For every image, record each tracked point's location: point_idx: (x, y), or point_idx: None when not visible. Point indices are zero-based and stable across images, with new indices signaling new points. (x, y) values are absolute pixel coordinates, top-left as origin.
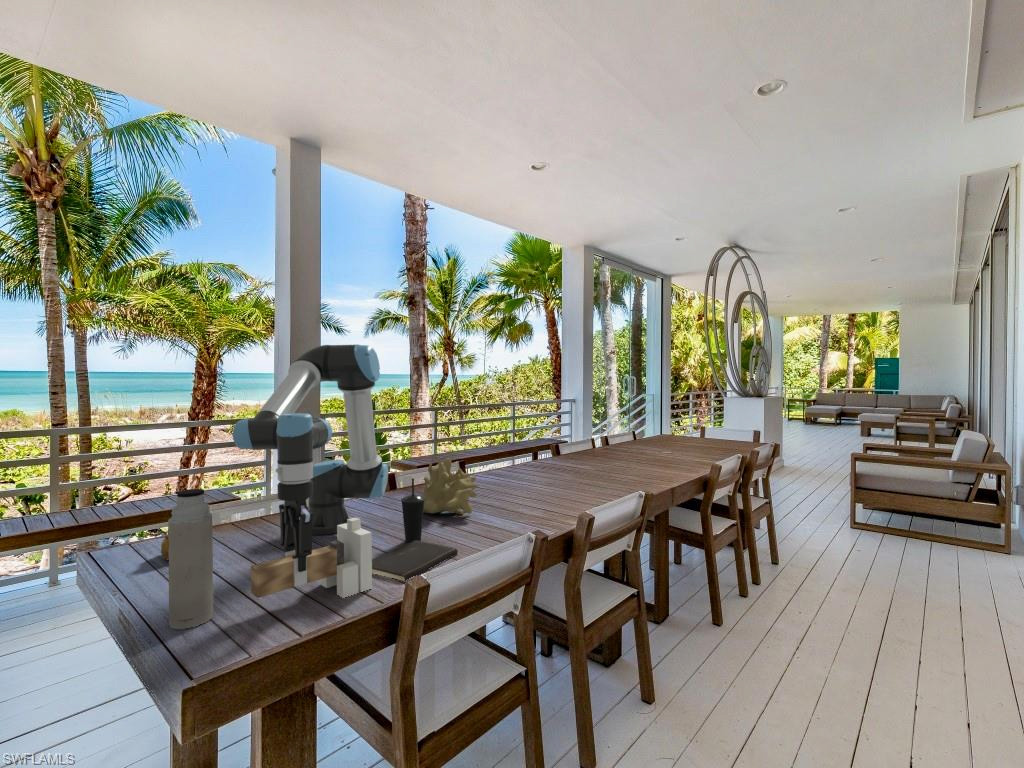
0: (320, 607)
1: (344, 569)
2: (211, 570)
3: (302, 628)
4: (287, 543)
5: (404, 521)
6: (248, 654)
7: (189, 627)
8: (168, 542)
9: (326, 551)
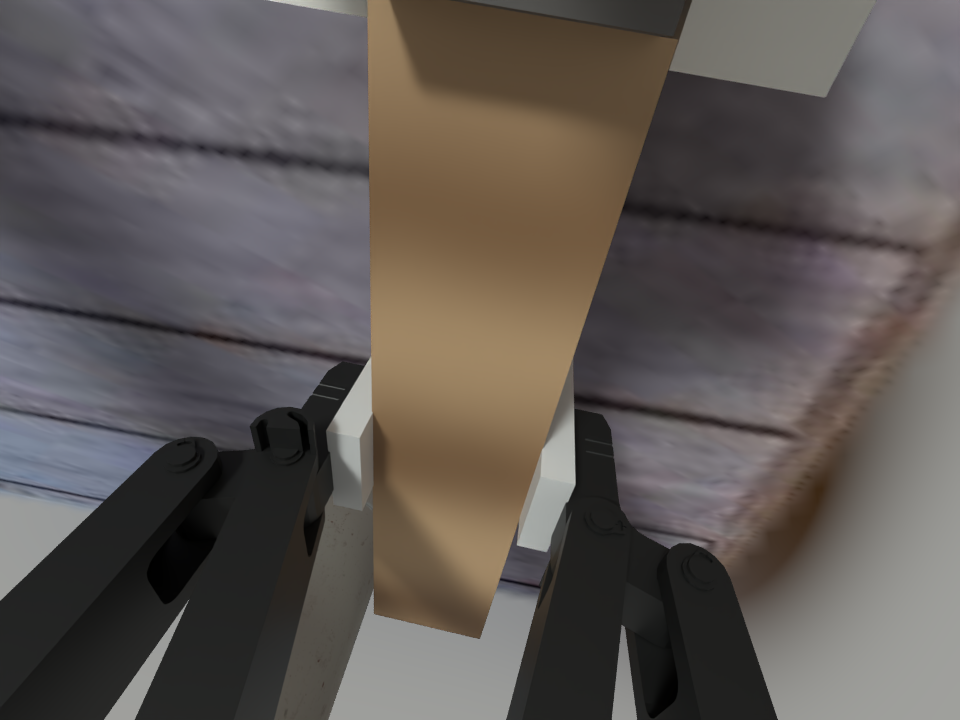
0: (666, 242)
1: (832, 67)
2: (300, 655)
3: (746, 402)
4: (308, 579)
5: None
6: (695, 539)
7: None
8: None
9: (583, 215)
